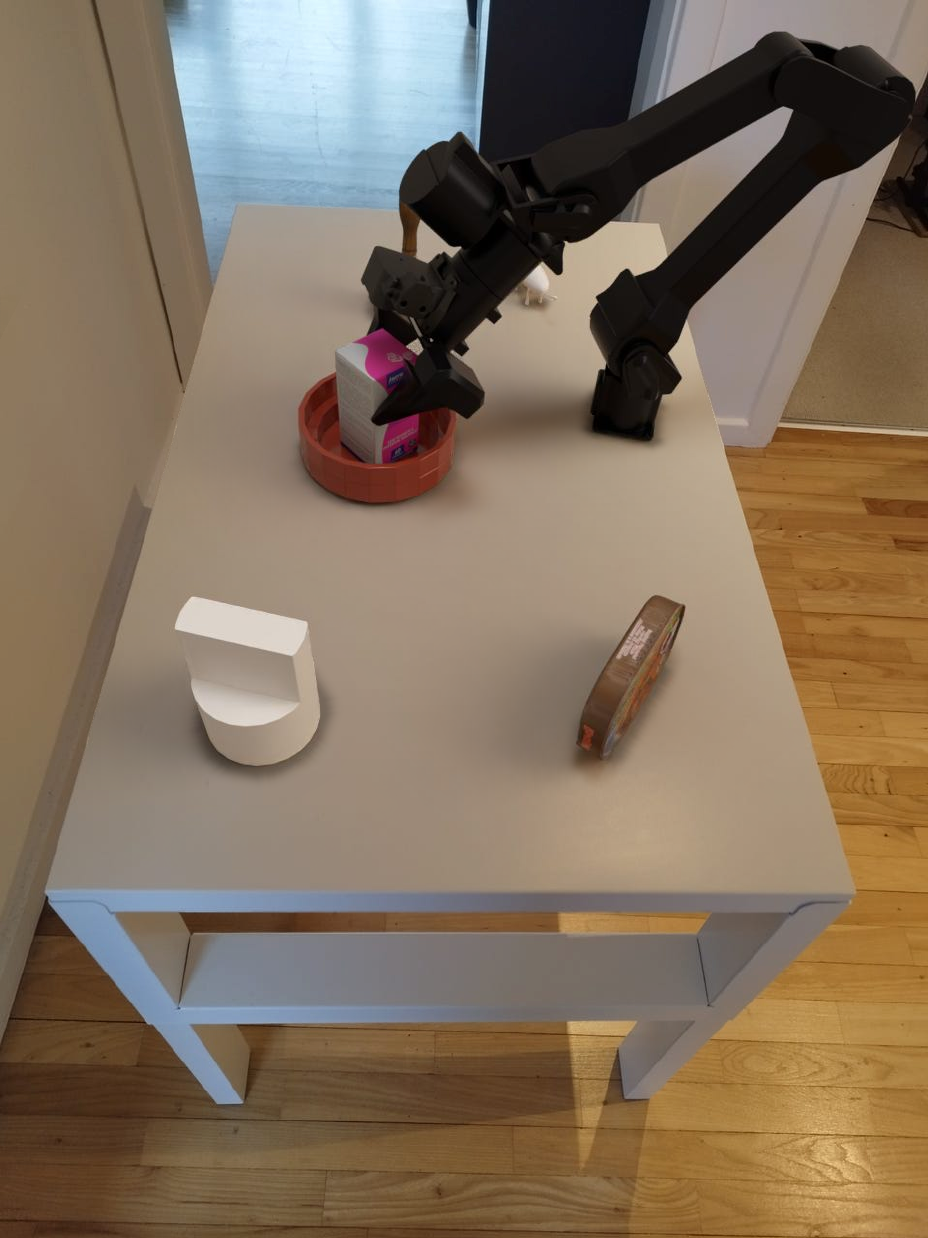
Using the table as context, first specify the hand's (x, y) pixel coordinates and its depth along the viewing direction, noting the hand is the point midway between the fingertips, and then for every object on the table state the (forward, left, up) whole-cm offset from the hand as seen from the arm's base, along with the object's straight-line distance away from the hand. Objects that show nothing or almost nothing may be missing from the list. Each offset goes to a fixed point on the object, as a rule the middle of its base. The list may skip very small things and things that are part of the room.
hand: (363, 397), depth 83 cm
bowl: (-1, -1, -7) cm, 7 cm away
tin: (-28, +23, -7) cm, 37 cm away
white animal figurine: (-12, -32, -7) cm, 35 cm away
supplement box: (-1, -1, -7) cm, 7 cm away
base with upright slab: (0, +31, -7) cm, 32 cm away
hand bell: (+2, -26, -7) cm, 27 cm away
